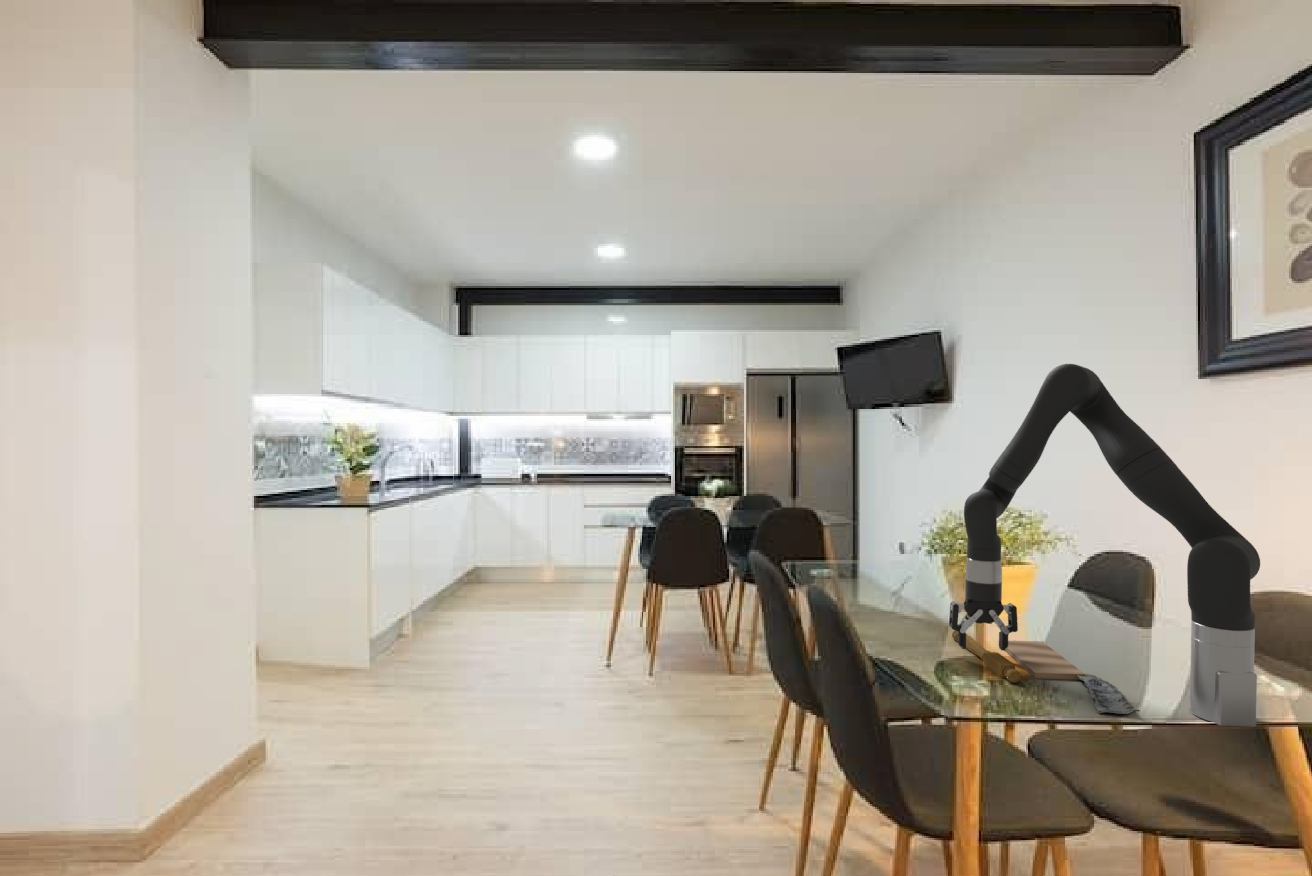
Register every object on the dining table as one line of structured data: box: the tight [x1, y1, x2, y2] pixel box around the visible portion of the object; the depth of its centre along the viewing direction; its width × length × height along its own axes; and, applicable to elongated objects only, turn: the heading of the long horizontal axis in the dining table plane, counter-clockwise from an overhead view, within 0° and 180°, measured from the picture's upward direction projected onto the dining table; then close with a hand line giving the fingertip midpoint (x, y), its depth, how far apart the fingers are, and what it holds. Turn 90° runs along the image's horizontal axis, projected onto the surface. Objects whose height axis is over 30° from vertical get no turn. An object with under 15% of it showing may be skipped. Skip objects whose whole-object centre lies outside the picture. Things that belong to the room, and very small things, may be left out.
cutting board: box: [1004, 640, 1086, 681], centre depth 164 cm, size 22×10×1 cm, turn 173°
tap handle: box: [951, 630, 1022, 684], centre depth 166 cm, size 3×3×30 cm
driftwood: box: [1077, 673, 1141, 715], centre depth 144 cm, size 21×7×2 cm, turn 162°
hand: (982, 648), depth 166 cm, fingers open, 8 cm apart
